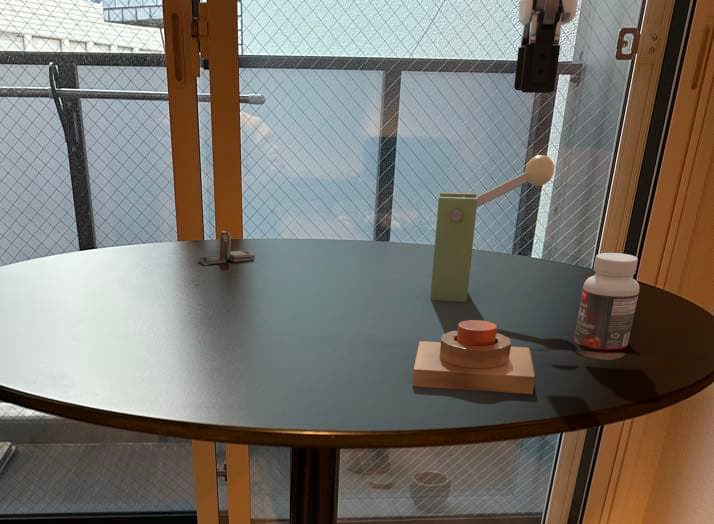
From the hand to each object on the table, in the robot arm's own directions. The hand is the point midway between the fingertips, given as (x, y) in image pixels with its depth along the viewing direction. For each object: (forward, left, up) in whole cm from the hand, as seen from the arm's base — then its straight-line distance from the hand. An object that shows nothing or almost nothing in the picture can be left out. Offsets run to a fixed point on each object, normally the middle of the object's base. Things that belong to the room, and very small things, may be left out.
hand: (532, 91), depth 83 cm
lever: (+1, -5, -12) cm, 13 cm away
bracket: (+7, -5, -24) cm, 25 cm away
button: (+4, +21, -21) cm, 30 cm away
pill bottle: (-9, +11, -24) cm, 28 cm away
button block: (+4, +21, -24) cm, 32 cm away
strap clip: (+41, -25, -24) cm, 53 cm away
